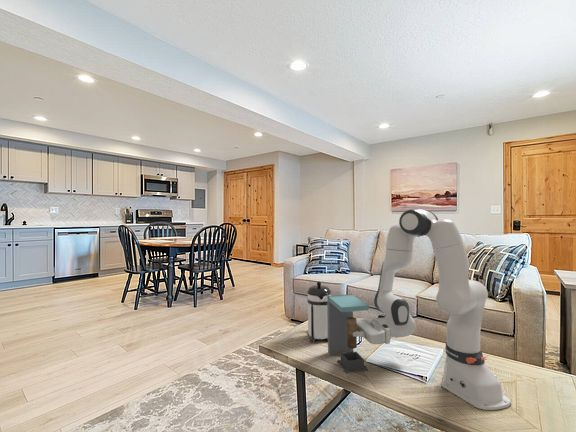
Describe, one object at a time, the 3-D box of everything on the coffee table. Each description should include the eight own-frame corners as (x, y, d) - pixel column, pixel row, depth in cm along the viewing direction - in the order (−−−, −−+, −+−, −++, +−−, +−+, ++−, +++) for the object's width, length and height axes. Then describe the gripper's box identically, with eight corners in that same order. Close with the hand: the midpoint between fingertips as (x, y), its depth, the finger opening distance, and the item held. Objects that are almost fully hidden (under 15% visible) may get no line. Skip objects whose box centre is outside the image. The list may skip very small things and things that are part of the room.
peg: (358, 347, 126) (357, 319, 126) (349, 348, 125) (349, 320, 125) (354, 343, 130) (354, 316, 130) (345, 344, 129) (345, 317, 129)
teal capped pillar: (369, 369, 125) (368, 305, 125) (342, 372, 122) (341, 307, 122) (351, 349, 142) (351, 294, 142) (328, 352, 140) (327, 295, 140)
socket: (368, 370, 124) (368, 360, 124) (345, 373, 122) (345, 363, 121) (357, 359, 133) (357, 350, 133) (336, 361, 131) (336, 352, 131)
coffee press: (340, 337, 157) (340, 281, 157) (321, 346, 146) (320, 286, 146) (316, 328, 170) (315, 276, 169) (296, 336, 159) (295, 281, 158)
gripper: (368, 313, 140) (340, 316, 137) (391, 330, 120) (360, 333, 117) (368, 326, 140) (340, 329, 137) (391, 345, 120) (360, 349, 117)
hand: (349, 331), depth 127 cm, fingers closed on peg, 4 cm apart
